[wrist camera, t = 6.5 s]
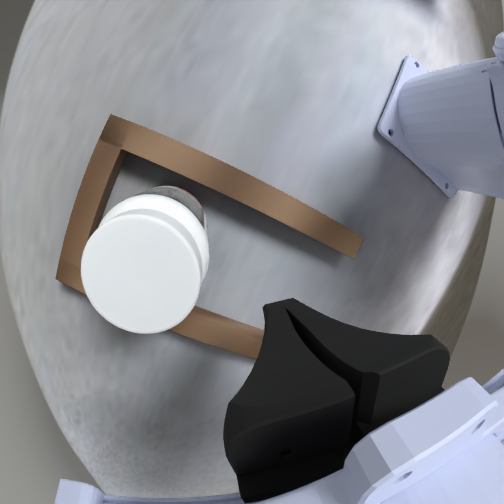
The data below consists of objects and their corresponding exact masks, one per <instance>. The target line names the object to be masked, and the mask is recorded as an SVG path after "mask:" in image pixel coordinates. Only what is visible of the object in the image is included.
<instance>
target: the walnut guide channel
mask: <svg viewBox="0 0 504 504" xmlns="http://www.w3.org/2000/svg"><path fill="white" fill-rule="evenodd" d="M127 152H130V153H133V154H135V155H137V156H140V157H142V158H145V159H147V160H149V161H152V162H154V163H156V164H158V165H161V166H163V167H165V168H168V169H170V170H172V171H174V172H177V173H179V174H181V175H183V176H186V177H188V178H190V179H192V180H194V181H197V182H199V183H201V184H203V185H205V186H207V187H210V188H212V189H214V190H216V191H218V192H220V193H223V194H225V195H227V196H229V197H231V198H233V199H235V200H237V201H239V202H242V203H244V204H246V205H248V206H250V207H252V208H254V209H256V210H258V211H260V212H262V213H264V214H266V215H268V216H270V217H272V218H274V219H276V220H278V221H280V222H282V223H284V224H286V225H288V226H290V227H292V228H294V229H296V230H298V231H300V232H302V233H304V234H306V235H308V236H310V237H312V238H314V239H316V240H318V241H320V242H322V243H324V244H325V245H327V246H329V247H331V248H333V249H335V250H337V251H339V252H341V253H342V254H344V255H346V256H348V257H350V258H352V259H354V258H355V256H356V254H357V252H358V250H359V248H360V247H361V245H362V243H363V241H364V239H365V238H363V237H361V236H360V235H358V234H357V233H355V232H353V231H351V230H350V229H348V228H346V227H345V226H343V225H341V224H340V223H338V222H336V221H334V220H333V219H331V218H329V217H327V216H326V215H324V214H322V213H320V212H319V211H317V210H315V209H313V208H311V207H310V206H308V205H306V204H304V203H302V202H301V201H299V200H297V199H295V198H293V197H291V196H289V195H288V194H286V193H284V192H282V191H280V190H278V189H276V188H274V187H272V186H270V185H269V184H267V183H265V182H263V181H261V180H259V179H257V178H255V177H253V176H251V175H249V174H247V173H245V172H243V171H241V170H239V169H237V168H235V167H233V166H230V165H228V164H226V163H224V162H222V161H220V160H218V159H216V158H214V157H212V156H209V155H207V154H205V153H203V152H201V151H198V150H196V149H194V148H192V147H190V146H187V145H185V144H183V143H181V142H178V141H176V140H174V139H171V138H169V137H167V136H164V135H162V134H160V133H157V132H155V131H152V130H150V129H147V128H145V127H143V126H140V125H138V124H135V123H133V122H130V121H127V120H125V119H122V118H120V117H117V116H114V115H112V114H111V115H110V117H109V119H108V121H107V123H106V125H105V127H104V129H103V131H102V133H101V136H100V138H99V140H98V142H97V145H96V147H95V149H94V152H93V154H92V157H91V159H90V162H89V164H88V167H87V169H86V172H85V175H84V177H83V180H82V183H81V186H80V188H79V191H78V194H77V197H76V200H75V204H74V207H73V210H72V213H71V217H70V220H69V224H68V227H67V231H66V235H65V238H64V242H63V247H62V251H61V255H60V260H59V264H58V269H57V274H56V279H57V280H59V281H60V282H62V283H64V284H66V285H68V286H70V287H72V288H74V289H76V290H78V291H80V292H82V293H84V294H86V292H85V290H84V287H83V283H82V278H81V260H82V255H83V251H84V248H85V246H86V244H87V241H88V240H89V238H90V237H91V236H92V234H93V233H94V232H95V231H96V230H97V229H98V227H99V224H100V221H101V218H102V215H103V212H104V210H105V207H106V204H107V201H108V199H109V196H110V193H111V191H112V188H113V186H114V183H115V181H116V178H117V176H118V173H119V171H120V168H121V166H122V164H123V161H124V159H125V157H126V155H127ZM168 330H170V331H173V332H175V333H178V334H181V335H184V336H186V337H189V338H192V339H195V340H198V341H201V342H203V343H206V344H209V345H212V346H215V347H219V348H222V349H225V350H228V351H231V352H234V353H238V354H241V355H244V356H248V357H251V358H255V359H257V357H258V354H259V352H260V348H261V345H262V340H263V335H264V330H261V329H258V328H255V327H252V326H249V325H246V324H243V323H240V322H238V321H235V320H232V319H229V318H226V317H224V316H221V315H218V314H215V313H213V312H210V311H207V310H205V309H202V308H199V307H197V306H194V307H193V309H192V310H191V312H190V313H189V314H188V315H187V317H186V318H185V319H184V320H183V321H182V322H180V323H179V324H177V325H176V326H174V327H172V328H170V329H168Z"/></svg>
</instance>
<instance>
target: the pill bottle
mask: <svg viewBox="0 0 504 504" xmlns="http://www.w3.org/2000/svg"><path fill="white" fill-rule="evenodd" d="M209 256H210V251H209V242H208V231H207V220H206V215H205V212H204V210H203V208H202V206H201V204H200V203H199V201H198V200H197V199H196V198H195V197H194V196H193V195H192V194H190V193H189V192H188V191H186V190H184V189H181V188H178V187H174V186H159V187H155V188H152V189H149V190H147V191H145V192H142V193H140V194H137V195H135V196H132V197H130V198H127V199H125V200H123V201H121V202H120V203H118V204H117V205H116V206H114V207H113V208H112V209H111V210H110V211H109V212H108V213H107V214H106V215H105V217H104V218H103V220H102V221H101V223H100V225H99V227H98V229H97V230H96V231H95V232H94V233H93V234H92V236H91V237H90V238H89V240H88V241H87V244H86V246H85V248H84V251H83V255H82V260H81V278H82V283H83V287H84V290H85V292H86V295H87V297H88V299H89V301H90V302H91V304H92V305H93V307H94V308H95V309H96V310H97V312H98V313H99V314H100V315H101V316H103V317H104V318H105V319H106V320H107V321H109V322H110V323H112V324H113V325H115V326H117V327H119V328H121V329H124V330H126V331H129V332H134V333H141V334H151V333H158V332H162V331H165V330H168V329H170V328H172V327H174V326H176V325H177V324H179V323H180V322H182V321H183V320H184V319H185V318H186V317H187V315H188V314H189V313H190V312H191V310H192V309H193V307H194V305H195V303H196V301H197V299H198V296H199V292H200V286H201V285H202V283H203V281H204V279H205V276H206V273H207V270H208V266H209Z"/></svg>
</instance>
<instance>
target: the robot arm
mask: <svg viewBox="0 0 504 504" xmlns="http://www.w3.org/2000/svg"><path fill="white" fill-rule="evenodd" d="M493 51H494V53H495V55H496V57H494V58H488V59H483V60H478V61H473V62H469V63H464V64H460V65H456V66H452V67H448V68H444V69H440V70H436V71H433V72H429V71H428V70H427V69H426V68H425V67H424V66H423V65H422V64H421V63H420V62H419V61H418V60H416V59H415V58H414V57H413V56H412V55H408V56H406V57H405V59H404V62H403V65H402V67H401V70H400V73H399V75H398V78H397V80H396V83H395V85H394V88H393V90H392V93H391V95H390V98H389V100H388V102H387V105H386V107H385V109H384V112H383V114H382V117H381V119H380V121H379V123H378V127H377V128H378V132H379V133H380V134H381V135H382V136H383V137H384V138H385V139H387V140H388V141H389V142H390V143H392V144H393V145H394V146H395V147H396V148H397V149H399V150H400V151H401V152H402V153H403V154H404V155H405V156H407V157H408V158H409V159H410V160H411V161H412V162H413V163H414V164H415V165H417V166H418V167H419V168H420V169H421V170H422V171H423V172H424V173H425V174H426V175H427V176H428V177H429V178H430V179H431V180H432V181H433V182H434V183H435V184H436V185H437V186H438V187H439V188H440V189H441V190H442V191H443V192H444V193H445V194H446V195H447V196H448V197H449V198H454V197H455V195H456V192H457V189H459V190H464V191H469V192H474V193H479V194H483V195H488V196H492V197H497V198H501V199H504V32H502V33H500V34H498V35H497V36H496V39H495V44H494V45H493ZM415 65H416V66H415ZM388 131H390V132H391V135H389V133H388ZM445 185H446V186H445ZM263 312H264V318H265V329H264V335H263V340H262V345H261V348H260V352H259V354H258V357H257V360H256V362H255V364H254V367H253V369H252V371H251V373H250V374H249V376H248V378H247V379H246V381H245V383H244V384H243V386H242V387H241V389H240V390H239V391H238V393H237V394H236V395H235V396H234V398H233V399H232V400H231V401H230V402H229V404H228V408H227V412H226V417H225V422H224V433H223V439H224V447H225V452H226V457H227V459H228V461H229V463H230V464H231V466H232V468H233V470H234V472H235V473H236V475H237V480H238V486H239V491H240V493H233V494H226V495H217V496H207V497H192V498H138V497H124V496H114V495H106V494H103V493H102V492H101V491H100V490H99V489H98V488H96V487H95V486H93V485H90V484H88V483H84V482H79V481H74V480H68V479H63V478H62V479H60V483H59V487H58V491H57V495H56V499H55V504H504V445H503V443H504V368H503V369H502V370H501V371H500V372H499V373H498V374H496V375H495V376H494V377H493V378H492V379H491V380H489V381H488V382H487V383H486V384H485V385H483V386H482V387H481V386H480V385H479V384H478V383H477V382H476V381H475V380H474V379H473V378H471V377H469V378H466V379H464V380H461V381H459V382H457V383H456V384H454V385H453V386H451V387H449V388H448V389H446V390H444V389H443V388H442V387H441V386H442V383H443V381H444V378H445V375H446V372H447V369H448V365H449V361H450V354H449V351H448V349H447V348H446V347H445V346H444V345H443V344H442V343H440V342H439V341H438V340H437V339H436V338H435V337H433V336H432V335H399V334H388V333H381V332H375V331H370V330H366V329H361V328H358V327H355V326H351V325H348V324H345V323H342V322H340V321H337V320H335V319H333V318H330V317H328V316H326V315H324V314H322V313H320V312H318V311H316V310H314V309H312V308H310V307H308V306H306V305H305V304H303V303H301V302H299V301H298V300H296V299H294V298H291V299H286V300H282V301H278V302H274V303H270V304H265V305H264V306H263Z"/></svg>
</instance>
